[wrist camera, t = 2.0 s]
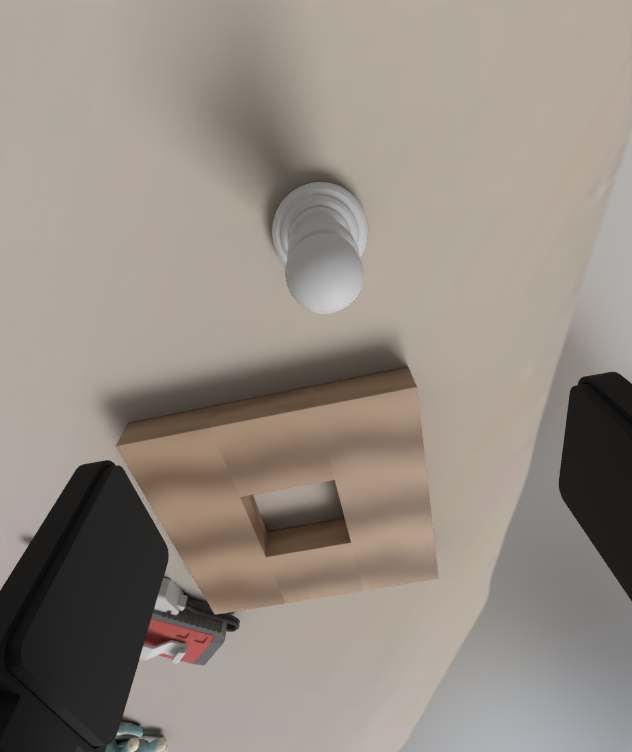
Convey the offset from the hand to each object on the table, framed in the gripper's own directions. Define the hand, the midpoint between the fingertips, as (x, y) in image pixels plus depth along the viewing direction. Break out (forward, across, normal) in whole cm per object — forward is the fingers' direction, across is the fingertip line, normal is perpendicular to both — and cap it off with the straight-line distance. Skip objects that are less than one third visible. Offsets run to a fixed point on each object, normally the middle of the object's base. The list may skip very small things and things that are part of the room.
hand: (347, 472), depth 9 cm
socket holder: (+19, +5, +19) cm, 27 cm away
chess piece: (+19, 0, -1) cm, 19 cm away
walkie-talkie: (+19, +23, +29) cm, 42 cm away
